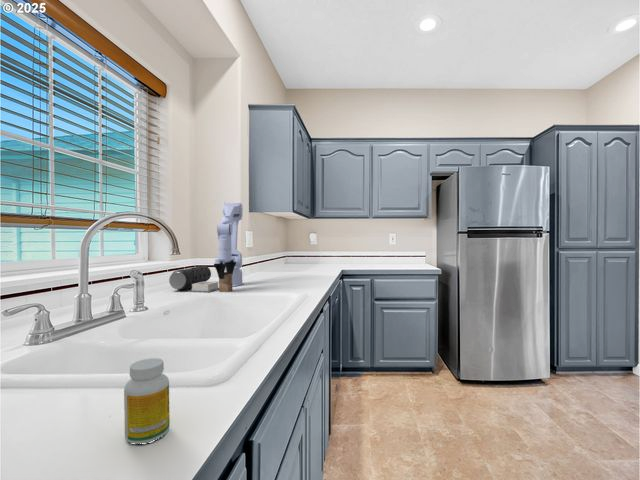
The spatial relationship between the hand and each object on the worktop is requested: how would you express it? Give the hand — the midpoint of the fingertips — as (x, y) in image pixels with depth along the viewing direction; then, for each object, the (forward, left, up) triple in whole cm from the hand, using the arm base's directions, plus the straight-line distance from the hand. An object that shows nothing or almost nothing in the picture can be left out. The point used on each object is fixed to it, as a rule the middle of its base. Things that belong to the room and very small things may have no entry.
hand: (225, 277), depth 160 cm
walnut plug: (0, 0, -6) cm, 6 cm away
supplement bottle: (+106, +50, -7) cm, 117 cm away
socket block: (0, -11, -6) cm, 13 cm away
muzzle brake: (-7, -24, -7) cm, 26 cm away
